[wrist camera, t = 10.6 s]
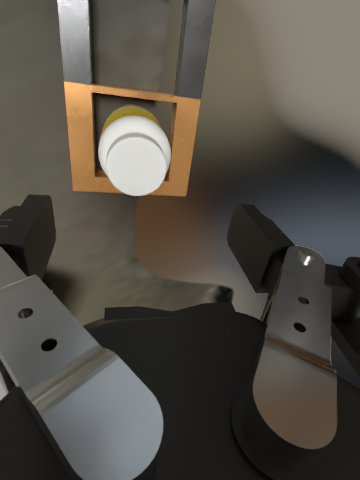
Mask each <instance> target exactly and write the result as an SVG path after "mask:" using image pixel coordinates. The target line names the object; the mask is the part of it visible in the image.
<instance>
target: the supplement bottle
mask: <svg viewBox="0 0 360 480" xmlns="http://www.w3.org/2000/svg"><path fill="white" fill-rule="evenodd" d="M98 155H99V161H100V164H101V167H102V169H103V171H104V172H105V174H106V175H107V176H108V178H109V179H110V181H111V183H112V184H113V185H114V186H115V187H116V188H117V189H118V190H119V191H121V192H123V193H125V194H128V195H132V196H142V195H147V194H149V193H151V192H153V191H155V190H156V189H157V188H158V187H159V186H160V185H161V184H162V182H163V180H164V178H165V175H166V172H167V171H168V168H169V165H170V161H171V148H170V144H169V141H168V139H167V137H166V135H165V133H164V131H163V129H162V128H161V126H160V124H159V122H158V121H157V119H156V117H155V116H154V115H153V114H152V113H151V112H150V111H149V110H147V109H146V108H144V107H142V106H139V105H134V104H127V105H123V106H120V107H118V108H117V109H115V110H114V111H113V112H112V113H111V114H110V115H109V116H108V118H107V119H106V121H105V124H104V127H103V131H102V134H101V137H100V141H99V148H98Z"/></svg>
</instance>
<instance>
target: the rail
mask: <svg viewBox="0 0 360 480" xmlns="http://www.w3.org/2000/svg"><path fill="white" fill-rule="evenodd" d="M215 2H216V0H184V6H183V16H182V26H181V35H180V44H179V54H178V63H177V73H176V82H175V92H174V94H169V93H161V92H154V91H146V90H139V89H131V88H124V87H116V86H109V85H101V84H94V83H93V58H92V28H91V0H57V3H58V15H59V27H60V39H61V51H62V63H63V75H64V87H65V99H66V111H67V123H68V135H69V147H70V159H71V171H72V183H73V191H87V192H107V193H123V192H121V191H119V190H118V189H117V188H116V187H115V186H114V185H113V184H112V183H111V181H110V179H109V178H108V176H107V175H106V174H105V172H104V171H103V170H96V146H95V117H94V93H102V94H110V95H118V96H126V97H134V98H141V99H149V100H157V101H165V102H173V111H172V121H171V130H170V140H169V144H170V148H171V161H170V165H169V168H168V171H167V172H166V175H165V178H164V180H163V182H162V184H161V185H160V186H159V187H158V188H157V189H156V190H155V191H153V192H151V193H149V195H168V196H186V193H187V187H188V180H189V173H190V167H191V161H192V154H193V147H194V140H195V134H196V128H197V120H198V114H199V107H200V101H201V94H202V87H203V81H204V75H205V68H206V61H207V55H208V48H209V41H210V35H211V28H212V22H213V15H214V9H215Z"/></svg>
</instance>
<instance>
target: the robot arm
mask: <svg viewBox="0 0 360 480" xmlns="http://www.w3.org/2000/svg"><path fill="white" fill-rule="evenodd" d="M55 239H56V229H55V222H54V214H53V207H52V200H51V197H50V196H49V195H30V194H29V195H28V196H27V197H26V199H25V200H24V202H23V203H22V205H21V206H13V207H11V208H10V209H8V210H6V211H4V212H3V213H2V214H1V216H0V381H1V383H2V385H3V387H4V389H5V391H6V393H7V395H6V396H4V397H3V398H2V399H1V400H0V480H360V388H358V387H357V386H355V385H354V384H352V383H351V382H350V381H348V380H346V379H345V378H344V377H342V376H341V375H340V374H338V373H337V372H336V371H335V369H334V368H333V367H332V366H331V336H332V338H333V339H334V341H335V342H336V344H337V345H338V347H339V348H340V350H341V351H342V352H343V354H344V355H345V357H346V358H347V360H348V361H349V363H350V364H351V365H352V367H353V368H354V370H355V371H356V373H357V374H358V376H359V377H360V317H359V316H360V258H359V257H348V258H347V259H346V261H345V262H344V264H343V266H342V267H341V266H335V265H331V264H326V262H325V259H324V258H323V257H322V256H321V255H320V254H319V253H318V252H316V251H314V250H312V249H310V248H307V247H303V246H295V245H294V244H293V243H292V241H291V240H290V239H289V238H288V237H287V236H286V235H285V234H284V233H282V231H281V230H280V229H279V228H278V227H277V225H276V224H275V223H274V222H273V221H272V220H270V219H269V218H267V217H266V216H264V215H263V214H262V213H261V212H260V211H259V210H258V209H257V208H256V207H255V206H254V205H252V204H237V205H236V206H235V208H234V211H233V215H232V219H231V223H230V226H229V230H228V236H227V241H228V245H229V247H230V248H231V250H232V252H233V254H234V256H235V257H236V259H237V261H238V263H239V264H240V266H241V268H242V269H243V271H244V273H245V274H246V276H247V278H248V280H249V282H250V283H251V285H252V287H253V289H254V290H255V292H256V293H269V295H268V298H267V300H266V303H265V306H264V309H263V312H262V315H261V318H260V320H258V319H257V318H254V317H252V316H249V315H246V314H243V313H239V312H235V309H234V307H233V305H232V303H231V302H229V303H206V304H200V305H196V306H192V307H188V308H185V309H181V310H177V311H165V310H159V309H152V308H146V307H139V306H137V307H114V308H105V317H104V318H103V319H100V320H97V321H94V322H91V323H89V324H87V325H85V326H82V325H81V324H80V323H79V321H78V320H77V319H76V318H75V317H74V316H73V315H72V314H71V313H70V311H69V310H68V309H67V308H66V307H65V306H64V305H63V304H62V303H61V301H60V300H59V299H58V298H57V297H56V296H55V295H54V294H53V293H52V291H51V290H50V289H49V288H48V287H47V286H46V285H45V284H44V283H43V281H42V278H43V275H44V273H45V270H46V267H47V264H48V261H49V258H50V256H51V253H52V250H53V247H54V244H55Z"/></svg>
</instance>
